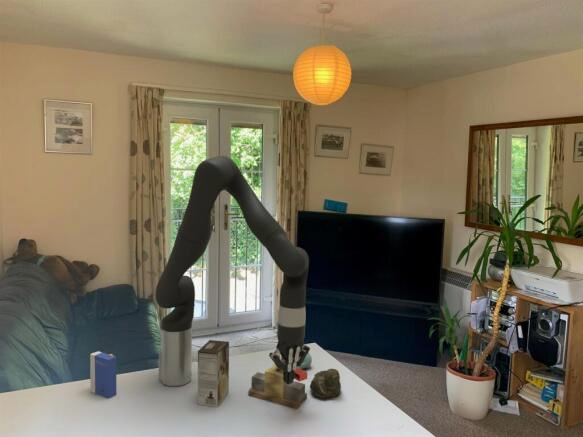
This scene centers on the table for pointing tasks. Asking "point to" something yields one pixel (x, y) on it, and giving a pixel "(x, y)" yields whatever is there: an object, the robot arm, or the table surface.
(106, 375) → the walkman
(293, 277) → the robot arm
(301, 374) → the valve lever
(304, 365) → the stuffed animal
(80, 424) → the table surface
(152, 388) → the table surface
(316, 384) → the seashell
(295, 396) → the valve plinth
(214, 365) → the coffee box
